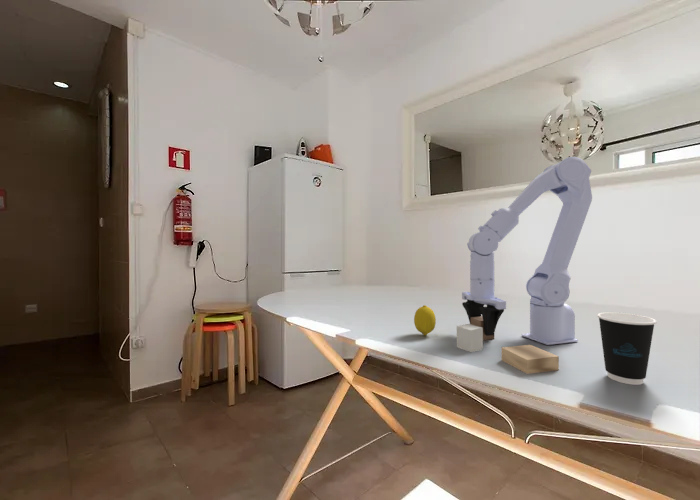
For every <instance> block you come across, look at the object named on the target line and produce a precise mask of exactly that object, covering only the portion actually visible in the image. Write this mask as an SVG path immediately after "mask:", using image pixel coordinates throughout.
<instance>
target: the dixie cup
mask: <svg viewBox="0 0 700 500" xmlns="http://www.w3.org/2000/svg"><path fill="white" fill-rule="evenodd" d="M596 316H597V318H598V320H599V329H600V337H601V344H602V345H601V346H602V353H603V360H604V368H605V371H606V373H607V377H608V378H609V379H611V380H613V381H616V382H619V383H621V384H626V385H635V386H639V385H643V384H644V380H645V379H646V377H647V372H648V366H649V364H648V363H649V358H650V351H651V348H652V346H651V345H652V341H653V334H654V327H655V325H656V324H657V319H654V318H652V317H649V316H646V315H645V316H644V315H640V314H639V315H638V314H634V313H633V314H632V313H626V312H625V313H624V312H613V311H611V312H610V311H609V312H608V311H607V312H599V313H597V315H596Z"/></svg>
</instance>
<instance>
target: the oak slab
mask: <svg viewBox="0 0 700 500" xmlns="http://www.w3.org/2000/svg"><path fill="white" fill-rule="evenodd" d="M559 357H560V356H559V355H557V354H554V353H552V352H549V351H546V350H544V349H542V348H540V347H538V346H535V345H532V344H524V345H515V346H514V345H513V346H505V347H504V346H502V347H501V361H502V362H503V363H506V364H508V365H509V366H511V367H514V368H515V369H517V370H519V371H521V372H523V373H524V374H527V375H528V374H537V373H546V372H555V371H560V370H559V366H560V365H559V361H560V358H559Z"/></svg>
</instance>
